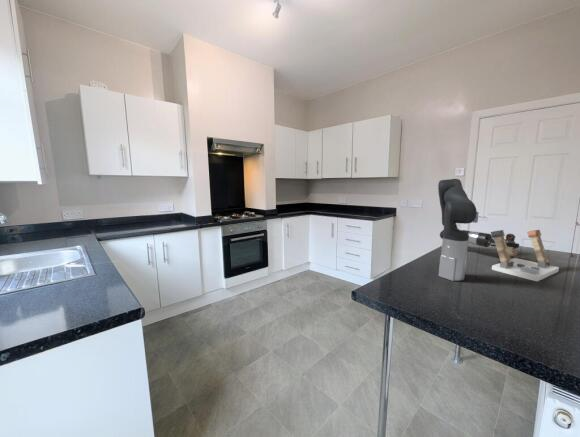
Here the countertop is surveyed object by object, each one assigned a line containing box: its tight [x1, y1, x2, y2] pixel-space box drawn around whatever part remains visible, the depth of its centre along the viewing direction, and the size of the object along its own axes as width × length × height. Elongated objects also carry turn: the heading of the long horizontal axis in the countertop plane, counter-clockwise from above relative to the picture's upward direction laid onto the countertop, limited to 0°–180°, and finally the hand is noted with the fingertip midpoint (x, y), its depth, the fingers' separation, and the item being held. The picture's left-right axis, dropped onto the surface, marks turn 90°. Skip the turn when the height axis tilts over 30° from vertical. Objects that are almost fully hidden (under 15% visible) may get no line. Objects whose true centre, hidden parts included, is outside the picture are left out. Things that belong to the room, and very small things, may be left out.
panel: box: [491, 257, 560, 282], centre depth 115 cm, size 24×16×4 cm, turn 118°
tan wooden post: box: [490, 229, 512, 266], centre depth 115 cm, size 6×3×17 cm, turn 118°
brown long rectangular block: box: [526, 229, 550, 266], centre depth 116 cm, size 6×3×17 cm, turn 118°
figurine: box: [505, 233, 518, 257], centre depth 140 cm, size 7×7×12 cm
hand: (518, 246), depth 123 cm, fingers closed
